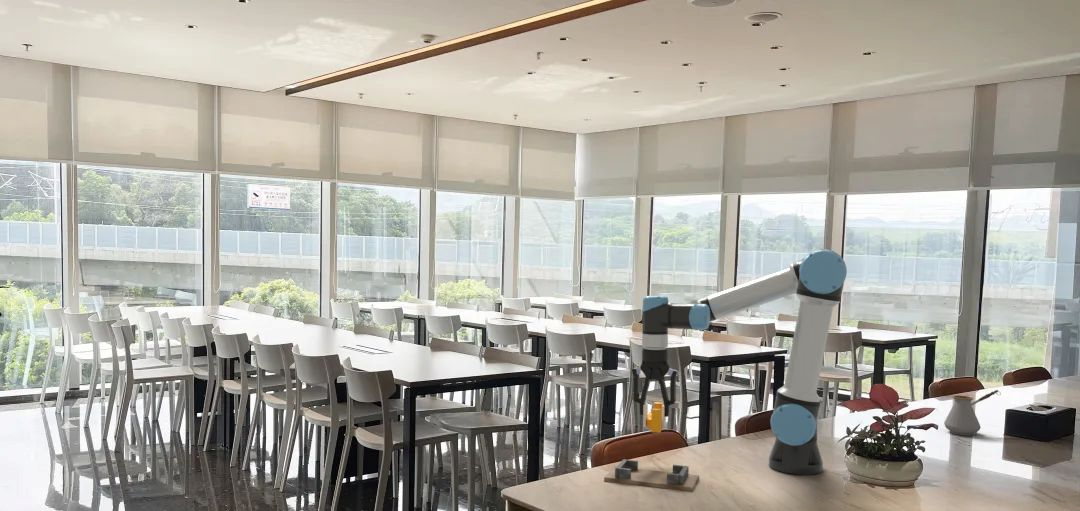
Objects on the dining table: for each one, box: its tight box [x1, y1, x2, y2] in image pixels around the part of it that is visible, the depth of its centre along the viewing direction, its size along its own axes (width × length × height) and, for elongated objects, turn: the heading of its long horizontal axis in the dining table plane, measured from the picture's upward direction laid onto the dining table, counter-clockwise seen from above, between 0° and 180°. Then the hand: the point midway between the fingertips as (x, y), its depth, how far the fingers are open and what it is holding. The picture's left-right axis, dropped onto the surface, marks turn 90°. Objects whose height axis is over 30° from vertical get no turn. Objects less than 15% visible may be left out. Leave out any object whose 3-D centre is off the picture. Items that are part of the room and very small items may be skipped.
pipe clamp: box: [646, 401, 664, 434], centre depth 234 cm, size 12×4×6 cm, turn 167°
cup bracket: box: [603, 458, 700, 492], centre depth 218 cm, size 24×12×4 cm, turn 71°
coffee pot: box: [943, 389, 1002, 436], centre depth 283 cm, size 21×12×15 cm, turn 104°
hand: (654, 426), depth 234 cm, fingers closed on pipe clamp, 5 cm apart
